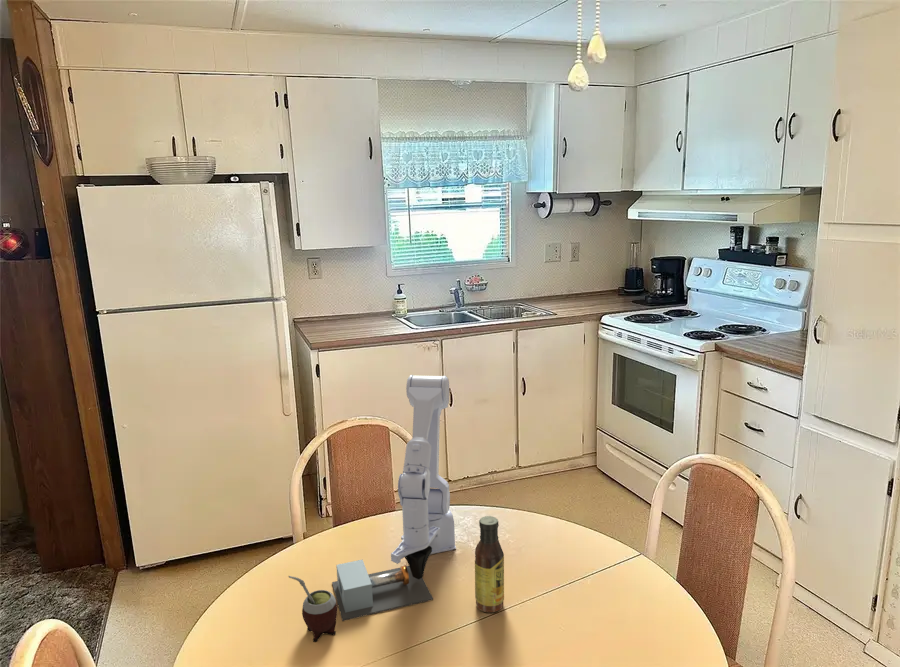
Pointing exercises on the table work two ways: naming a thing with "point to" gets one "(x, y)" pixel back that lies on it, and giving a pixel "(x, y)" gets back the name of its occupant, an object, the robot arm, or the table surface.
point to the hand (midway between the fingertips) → (417, 576)
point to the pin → (391, 578)
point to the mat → (388, 596)
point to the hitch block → (354, 585)
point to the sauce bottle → (489, 567)
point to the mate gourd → (319, 611)
